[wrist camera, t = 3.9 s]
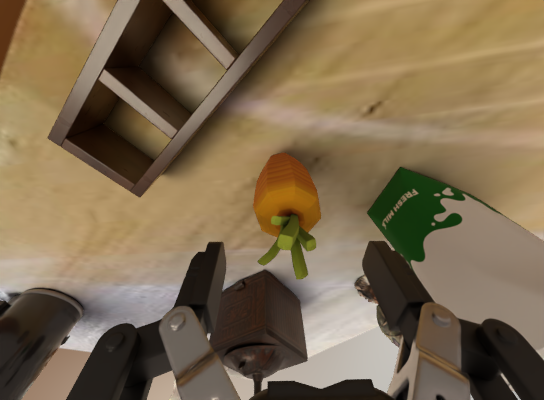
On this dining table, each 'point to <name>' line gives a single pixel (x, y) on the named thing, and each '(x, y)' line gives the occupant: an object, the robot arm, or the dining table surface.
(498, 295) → the milk carton
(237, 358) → the manual coffee grinder
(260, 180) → the carrot
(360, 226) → the dining table surface
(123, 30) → the rack
